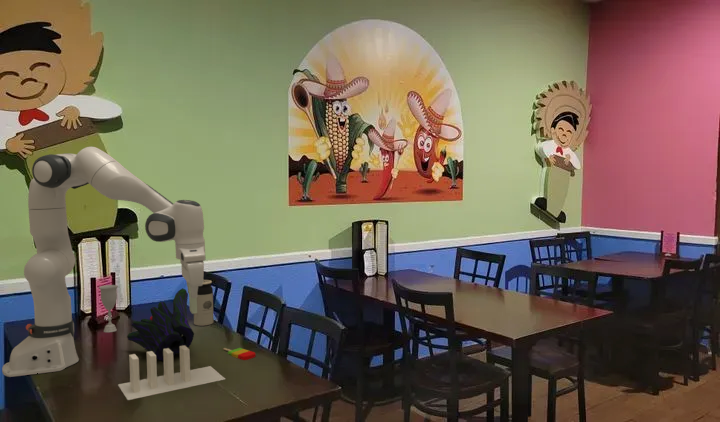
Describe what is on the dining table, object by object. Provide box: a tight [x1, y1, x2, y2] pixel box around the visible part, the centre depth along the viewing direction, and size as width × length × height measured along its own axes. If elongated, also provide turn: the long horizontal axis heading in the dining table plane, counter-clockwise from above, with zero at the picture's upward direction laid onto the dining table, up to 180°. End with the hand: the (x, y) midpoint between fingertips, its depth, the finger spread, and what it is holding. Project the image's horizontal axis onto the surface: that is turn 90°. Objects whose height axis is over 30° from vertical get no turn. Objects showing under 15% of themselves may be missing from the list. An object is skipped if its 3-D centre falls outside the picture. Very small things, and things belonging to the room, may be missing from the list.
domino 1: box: [128, 353, 140, 393], centre depth 172 cm, size 2×5×10 cm, turn 33°
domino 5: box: [188, 284, 197, 315], centre depth 182 cm, size 2×5×10 cm, turn 24°
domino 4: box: [179, 345, 191, 382], centre depth 181 cm, size 2×5×10 cm, turn 34°
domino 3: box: [163, 348, 175, 385], centre depth 178 cm, size 2×5×10 cm, turn 33°
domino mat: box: [117, 365, 226, 401], centre depth 179 cm, size 29×14×1 cm, turn 124°
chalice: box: [99, 284, 119, 333], centre depth 234 cm, size 7×7×18 cm
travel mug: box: [193, 279, 214, 327], centre depth 245 cm, size 8×8×18 cm
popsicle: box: [223, 347, 256, 361], centre depth 206 cm, size 6×15×2 cm, turn 51°
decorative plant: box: [126, 288, 195, 362], centre depth 210 cm, size 21×26×30 cm
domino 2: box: [146, 351, 158, 389], centre depth 175 cm, size 2×5×10 cm, turn 34°
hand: (192, 295), depth 182 cm, fingers closed on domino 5, 5 cm apart
